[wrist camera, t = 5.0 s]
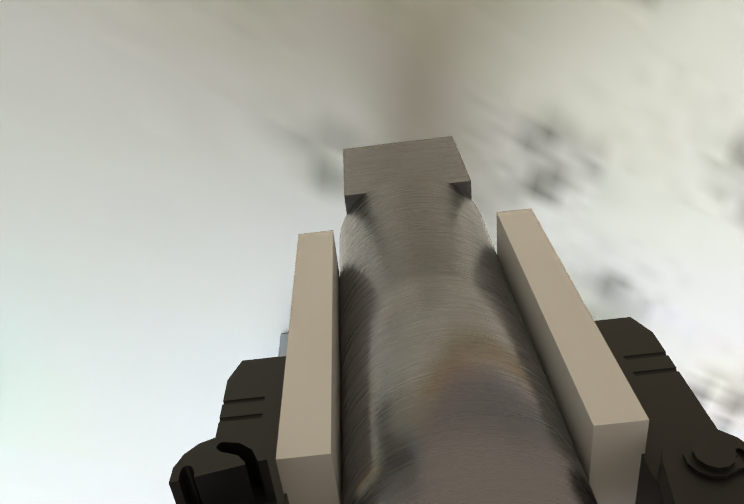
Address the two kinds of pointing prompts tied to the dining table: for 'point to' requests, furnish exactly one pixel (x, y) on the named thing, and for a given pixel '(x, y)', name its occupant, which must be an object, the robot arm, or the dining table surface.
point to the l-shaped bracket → (438, 347)
